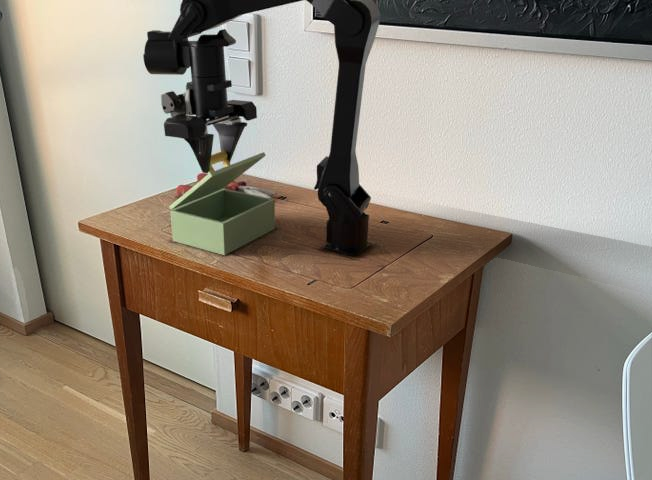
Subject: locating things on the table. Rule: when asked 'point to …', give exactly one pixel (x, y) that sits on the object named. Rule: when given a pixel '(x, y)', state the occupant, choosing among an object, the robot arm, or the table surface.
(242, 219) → the box
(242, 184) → the pliers
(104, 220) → the table surface
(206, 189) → the lid
